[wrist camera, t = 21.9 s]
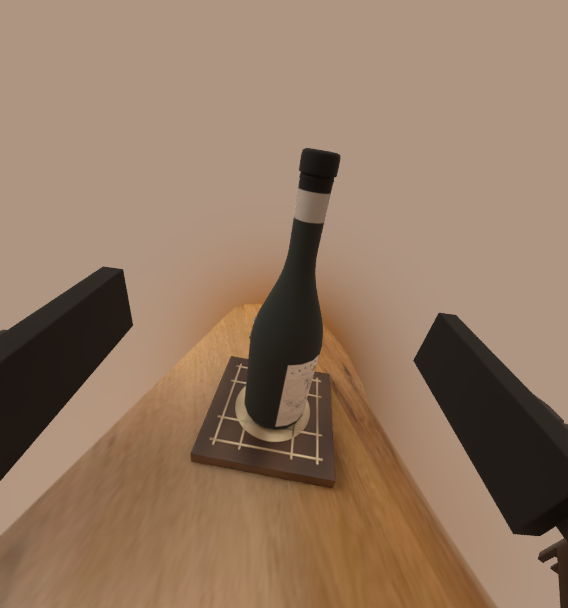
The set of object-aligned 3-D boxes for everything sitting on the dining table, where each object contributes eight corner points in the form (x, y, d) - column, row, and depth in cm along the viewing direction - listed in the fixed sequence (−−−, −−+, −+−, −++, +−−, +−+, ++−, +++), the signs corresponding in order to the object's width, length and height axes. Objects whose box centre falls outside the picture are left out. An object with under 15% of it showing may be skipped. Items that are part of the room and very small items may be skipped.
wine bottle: (311, 399, 38) (382, 160, 22) (287, 446, 31) (362, 157, 16) (262, 375, 40) (295, 145, 25) (231, 413, 34) (249, 138, 19)
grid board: (191, 461, 30) (190, 453, 29) (230, 362, 44) (231, 355, 43) (332, 488, 30) (335, 480, 29) (327, 380, 43) (329, 373, 42)
